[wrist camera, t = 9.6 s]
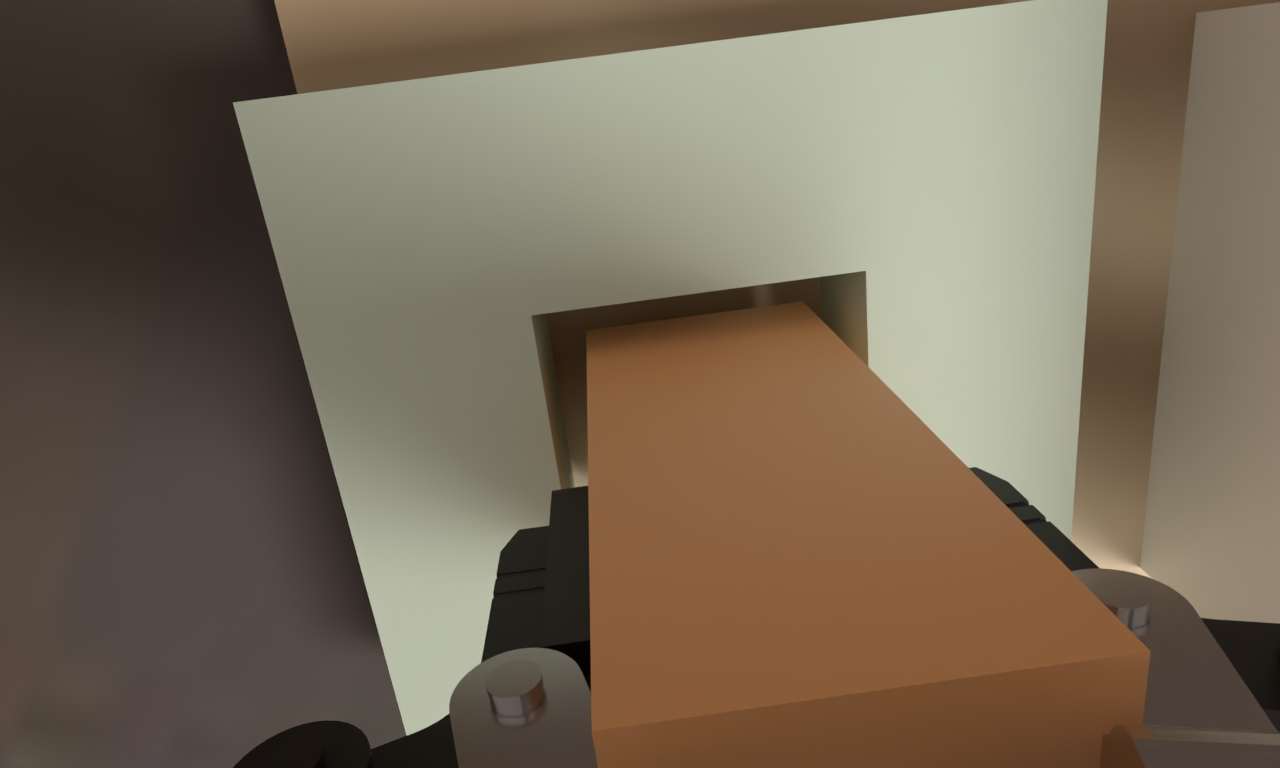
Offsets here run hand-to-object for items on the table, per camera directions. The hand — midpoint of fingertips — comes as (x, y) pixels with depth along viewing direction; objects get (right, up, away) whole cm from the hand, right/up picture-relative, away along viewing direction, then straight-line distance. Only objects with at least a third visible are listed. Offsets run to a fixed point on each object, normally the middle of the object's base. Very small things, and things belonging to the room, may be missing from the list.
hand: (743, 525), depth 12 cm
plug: (0, +1, +4) cm, 4 cm away
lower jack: (0, +2, +5) cm, 6 cm away
